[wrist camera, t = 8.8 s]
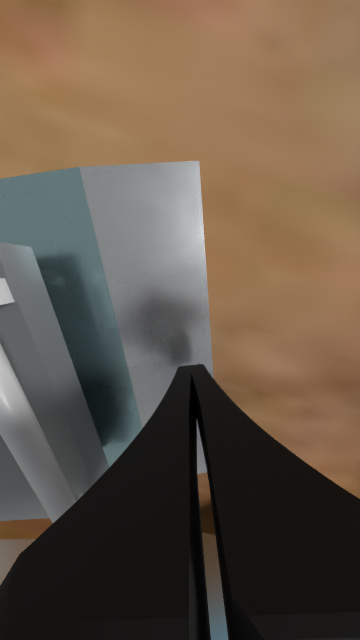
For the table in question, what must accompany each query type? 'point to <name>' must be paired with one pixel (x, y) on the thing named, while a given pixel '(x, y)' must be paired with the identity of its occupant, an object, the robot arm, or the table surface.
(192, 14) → the table surface
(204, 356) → the dock bay
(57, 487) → the cabinet door with handle
